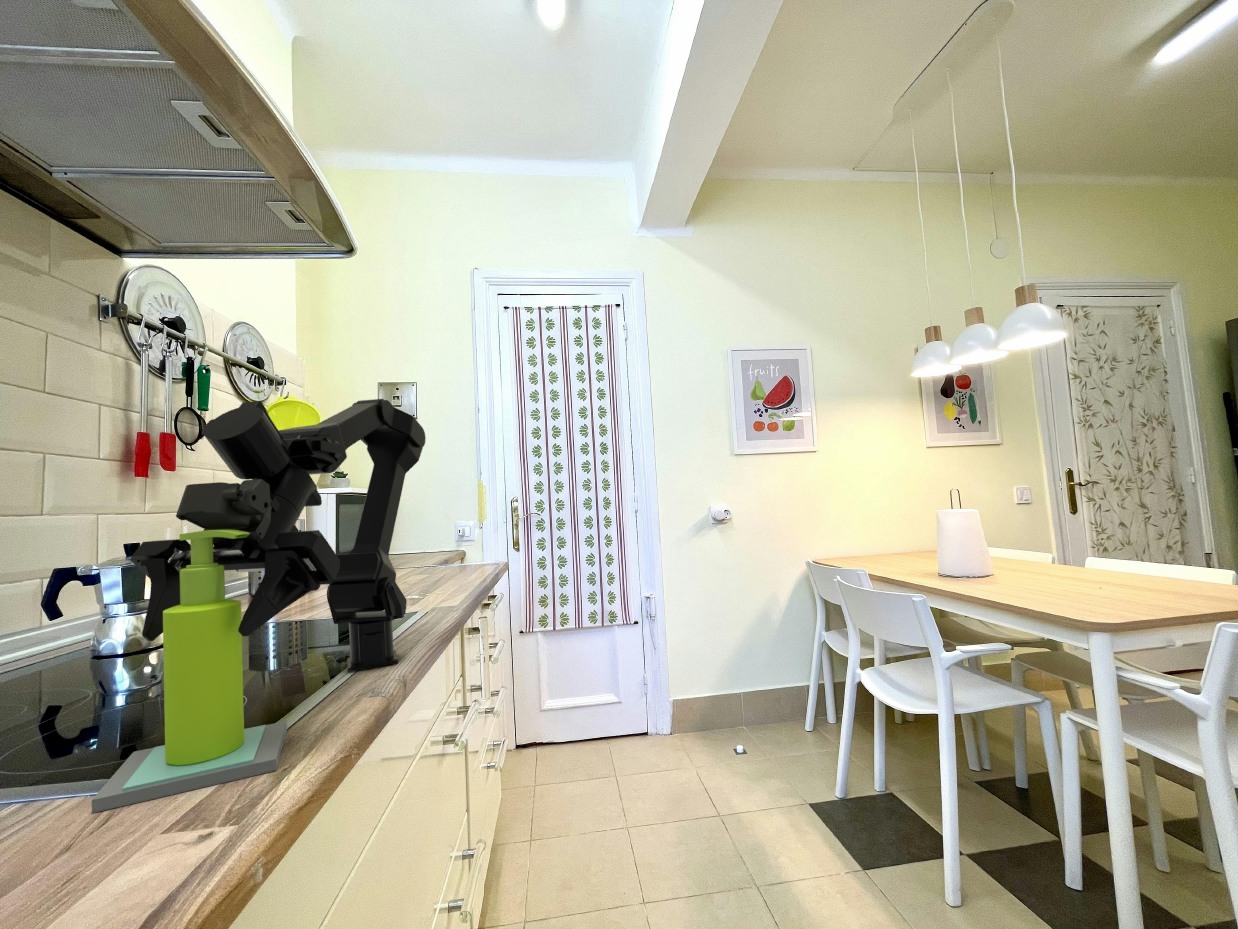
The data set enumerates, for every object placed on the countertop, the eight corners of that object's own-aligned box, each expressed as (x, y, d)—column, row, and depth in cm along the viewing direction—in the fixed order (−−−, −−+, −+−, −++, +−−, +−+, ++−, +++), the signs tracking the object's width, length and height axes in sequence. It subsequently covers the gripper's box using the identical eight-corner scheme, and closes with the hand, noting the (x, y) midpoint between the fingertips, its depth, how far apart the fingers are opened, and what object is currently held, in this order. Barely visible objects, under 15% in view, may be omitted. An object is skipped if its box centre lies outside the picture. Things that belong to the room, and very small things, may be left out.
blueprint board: (133, 762, 55) (133, 749, 55) (286, 730, 60) (286, 719, 60) (91, 813, 46) (91, 797, 46) (276, 770, 51) (275, 756, 51)
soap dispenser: (226, 763, 50) (221, 530, 51) (147, 767, 50) (144, 534, 51) (269, 735, 56) (263, 526, 57) (198, 738, 56) (194, 530, 57)
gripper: (144, 462, 60) (29, 590, 48) (318, 449, 58) (244, 577, 47) (207, 533, 67) (121, 658, 56) (363, 522, 66) (308, 649, 54)
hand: (194, 636), depth 53 cm, fingers open, 9 cm apart
